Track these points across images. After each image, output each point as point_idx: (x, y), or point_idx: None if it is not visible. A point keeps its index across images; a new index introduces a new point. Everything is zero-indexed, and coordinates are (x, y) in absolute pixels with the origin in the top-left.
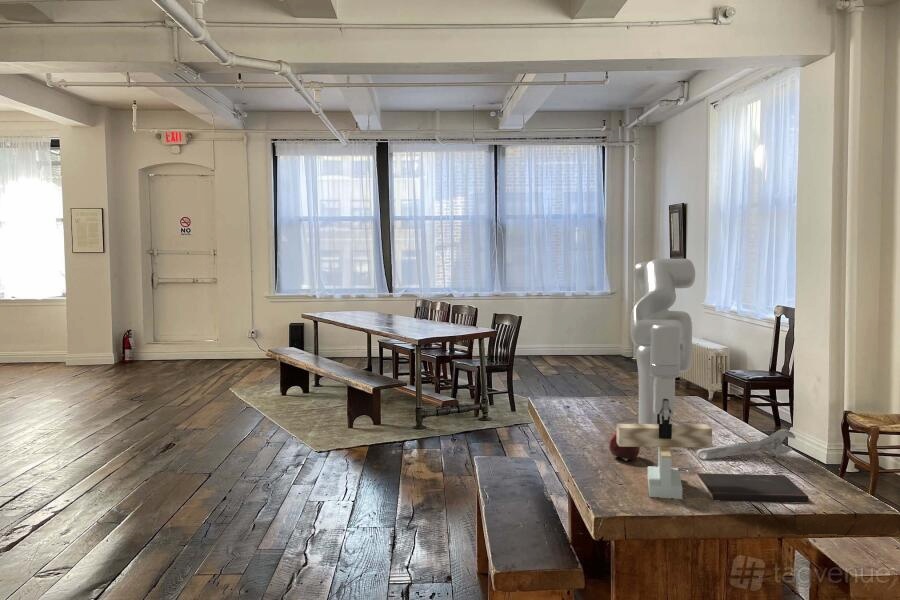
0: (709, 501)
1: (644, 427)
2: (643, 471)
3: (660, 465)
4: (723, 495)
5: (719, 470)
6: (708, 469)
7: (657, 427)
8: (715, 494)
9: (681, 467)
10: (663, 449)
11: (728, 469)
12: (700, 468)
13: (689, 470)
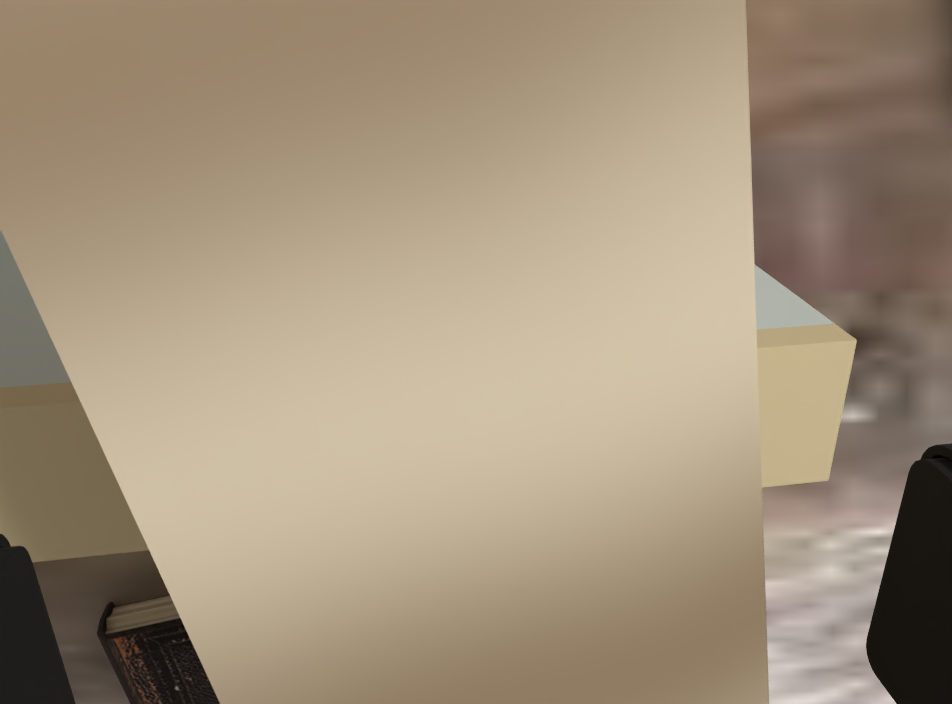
0: (74, 584)
1: (127, 174)
2: (804, 5)
3: (20, 303)
4: (129, 699)
5: (848, 623)
6: (871, 558)
7: (303, 618)
8: (109, 656)
9: (926, 371)
10: (98, 455)
11: (871, 670)
12: (896, 507)
13: (845, 433)
